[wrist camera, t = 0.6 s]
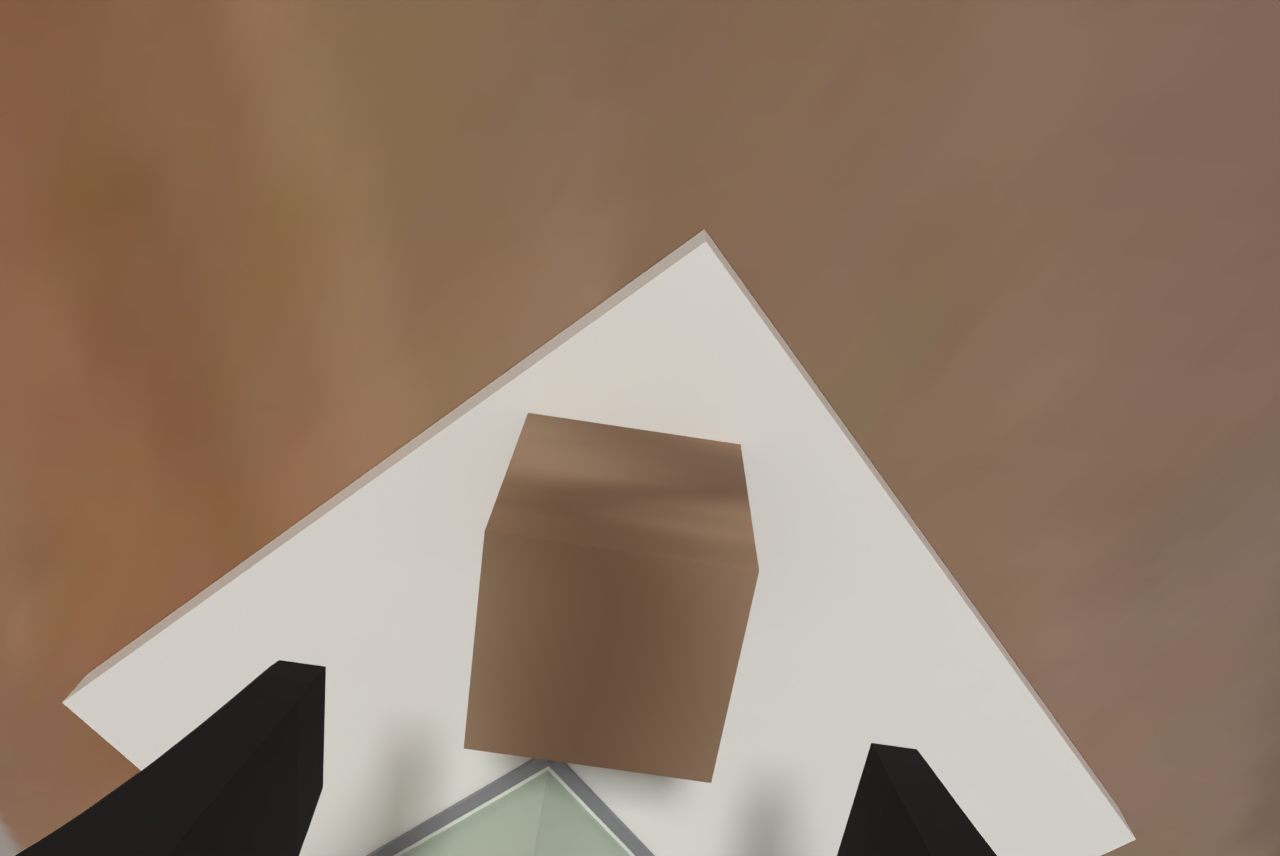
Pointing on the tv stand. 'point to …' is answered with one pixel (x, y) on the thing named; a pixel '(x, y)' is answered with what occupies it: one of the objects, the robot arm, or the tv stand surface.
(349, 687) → the baseplate
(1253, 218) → the tv stand surface
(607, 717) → the walnut cube
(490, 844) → the sage base block
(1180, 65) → the tv stand surface
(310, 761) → the robot arm
